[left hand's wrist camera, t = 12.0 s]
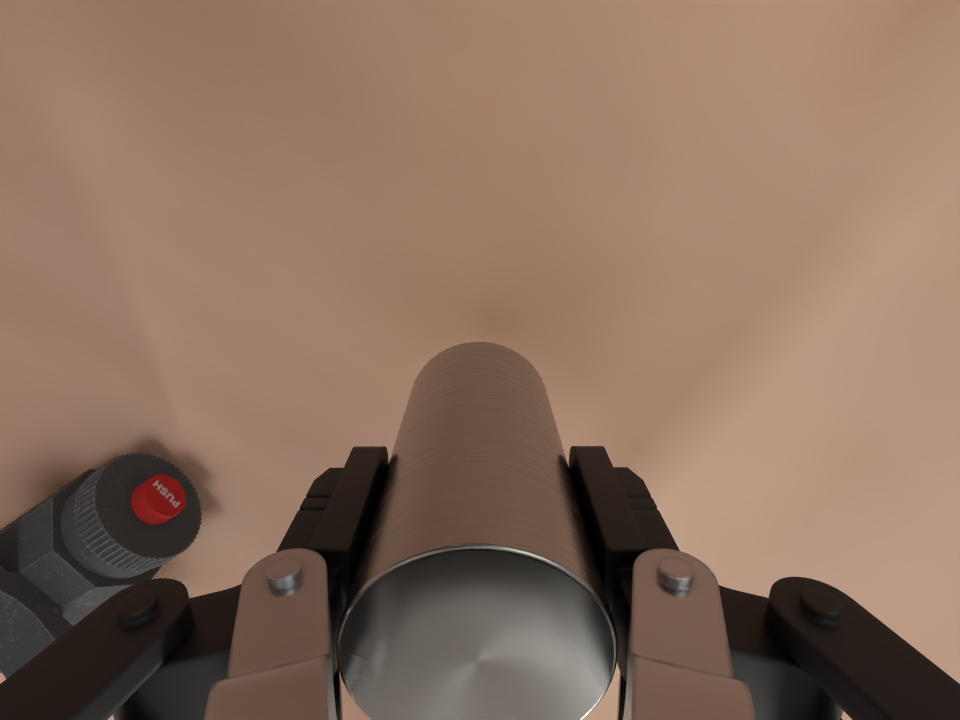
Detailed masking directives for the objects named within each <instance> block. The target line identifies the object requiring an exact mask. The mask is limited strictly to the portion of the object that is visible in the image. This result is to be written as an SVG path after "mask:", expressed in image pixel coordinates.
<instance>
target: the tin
mask: <svg viewBox="0 0 960 720" xmlns="http://www.w3.org/2000/svg"><path fill="white" fill-rule="evenodd" d="M336 654H337V662H338V667H339V671H340V674H341V677H342V680H343V682H344V684H345V686H346V689H347V691H348V692H349V694H350V695H351V697H352V698H353V700H354V701H355V703H356V704H357V705H358V706H359V707H360V708H361V709H362V711H363V712H364V713H365V714H366V715H367V716H369V717H370V718H371V719H372V720H583V719H584V718H585V717H586V716H587V715H588V714H589V713H590V712H591V711H592V710H593V709H594V708H595V707H596V706H597V705H598V703H599V702H600V700H601V699H602V697H603V696H604V695H605V693H606V691H607V689H608V687H609V685H610V683H611V681H612V678H613V675H614V672H615V668H616V663H617V655H618V638H617V633H616V628H615V624H614V620H613V617H612V614H611V610H610V607H609V603H608V600H607V597H606V593H605V590H604V586H603V583H602V580H601V576H600V573H599V569H598V566H597V563H596V559H595V556H594V552H593V549H592V546H591V542H590V539H589V535H588V532H587V529H586V525H585V522H584V518H583V515H582V511H581V508H580V505H579V501H578V498H577V494H576V491H575V488H574V484H573V481H572V477H571V474H570V471H569V467H568V464H567V460H566V457H565V454H564V450H563V447H562V443H561V440H560V437H559V433H558V430H557V426H556V423H555V420H554V416H553V413H552V409H551V406H550V403H549V399H548V396H547V392H546V389H545V386H544V383H543V381H542V379H541V377H540V375H539V374H538V372H537V371H536V369H535V368H534V367H533V365H532V364H531V363H529V362H528V361H527V360H526V359H525V358H524V357H523V356H521V355H520V354H518V353H517V352H515V351H513V350H511V349H509V348H506V347H504V346H501V345H497V344H493V343H486V342H472V343H464V344H460V345H456V346H454V347H451V348H448V349H446V350H444V351H443V352H441V353H439V354H438V355H436V356H435V357H434V358H432V359H431V360H430V361H429V362H428V363H427V364H426V365H425V366H424V367H423V369H422V370H421V371H420V373H419V375H418V376H417V378H416V380H415V382H414V385H413V387H412V391H411V394H410V397H409V400H408V404H407V407H406V410H405V413H404V417H403V420H402V423H401V426H400V429H399V433H398V436H397V439H396V442H395V446H394V449H393V452H392V455H391V459H390V462H389V465H388V468H387V472H386V475H385V478H384V481H383V484H382V488H381V491H380V494H379V497H378V501H377V504H376V507H375V510H374V514H373V517H372V520H371V523H370V527H369V530H368V533H367V536H366V539H365V543H364V546H363V549H362V552H361V556H360V559H359V562H358V565H357V569H356V572H355V575H354V578H353V582H352V585H351V588H350V591H349V594H348V598H347V601H346V604H345V607H344V611H343V614H342V617H341V620H340V624H339V628H338V633H337V641H336Z"/></svg>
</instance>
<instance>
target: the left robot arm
mask: <svg viewBox="0 0 960 720" xmlns="http://www.w3.org/2000/svg"><path fill="white" fill-rule="evenodd" d="M388 465H389V464H388V453H387V448H386V447H353V449H352V451H351V453H350V455H349V457H348V460H347V462H346V464H345V466H344V468H329V469H328V470H327V471H325V472H324V473H323V474H322V475H320V476H319V477H318V478H317V479H315V480H314V482H313V484H312V486H311V487H310V489H309V491H308V493H307V495H306V498H305V499H304V501H303V503H302V504H301V506H300V511H298V512H297V514H296V516H295V518H294V520H293V521H292V523H291V525H290V527H289V529H288V531H287V533H286V535H285V537H284V539H283V540H282V542H281V544H280V546H279V548H278V550H277V552H276V553H273V554H271V555H269V556H267V557H265V558H263V559H262V560H260V561H259V562H257V563H256V564H255V565H254V566H253V567H252V568H251V569H250V570H249V571H248V572H247V573H246V575H245V577H244V579H243V582H242V584H240V585H238V586H235V587H233V588H230V589H226V590H223V591H219V592H215V593H210V594H206V595H202V596H198V597H193V598H189V595H188V591H187V588H186V587H185V586H184V584H182V583H181V582H179V581H177V580H173V579H165V578H160V579H152V580H147V581H143V582H140V583H137V584H134V585H132V586H129V587H127V588H125V589H123V590H121V591H119V592H118V593H116V594H114V595H113V596H111V597H110V598H109V599H107V600H106V601H105V602H103V603H102V604H101V605H99V606H98V607H97V608H96V609H94V610H93V611H92V612H91V613H89V614H88V615H87V616H86V617H84V618H83V619H82V620H81V621H79V622H78V623H77V624H76V625H74V626H73V627H72V628H70V629H69V630H68V631H67V632H65V633H64V634H63V635H62V636H60V637H59V638H58V639H57V640H55V641H54V642H53V643H52V644H50V645H49V646H48V647H47V648H45V649H44V650H43V651H41V652H40V653H39V654H38V655H36V656H35V657H34V658H33V659H31V660H30V661H29V662H28V663H26V664H25V665H24V666H23V667H21V668H20V669H19V670H18V671H16V672H15V673H14V674H12V675H11V676H10V677H9V678H7V679H6V680H5V681H4V682H2V683H1V684H0V720H108V719H109V718H110V717H111V716H112V715H113V717H114V720H343V706H342V688H341V677H340V671H339V667H338V662H337V654H336V641H337V633H338V628H339V624H340V620H341V617H342V614H343V611H344V607H345V604H346V601H347V598H348V594H349V591H350V588H351V585H352V582H353V578H354V575H355V572H356V569H357V565H358V562H359V559H360V556H361V552H362V549H363V546H364V543H365V539H366V536H367V533H368V530H369V527H370V523H371V520H372V517H373V514H374V510H375V507H376V504H377V501H378V497H379V494H380V491H381V488H382V484H383V481H384V478H385V475H386V472H387V468H388ZM569 471H570V474H571V477H572V481H573V484H574V488H575V491H576V494H577V498H578V501H579V505H580V508H581V511H582V515H583V518H584V522H585V525H586V529H587V532H588V535H589V539H590V542H591V546H592V549H593V552H594V556H595V559H596V563H597V566H598V569H599V573H600V576H601V580H602V583H603V586H604V590H605V593H606V597H607V600H608V603H609V607H610V610H611V614H612V617H613V620H614V624H615V628H616V633H617V638H618V655H617V663H618V667H619V670H620V677H619V688H618V706H617V720H842V719H841V716H842V713H843V710H844V711H845V712H846V714H847V715H848V716H849V717H850V718H851V719H852V720H960V684H959V683H958V682H956V681H955V680H954V679H953V678H951V677H950V676H949V675H948V674H946V673H945V672H944V671H942V670H941V669H940V668H939V667H937V666H936V665H935V664H934V663H932V662H931V661H930V660H929V659H927V658H926V657H925V656H924V655H922V654H921V653H920V652H919V651H917V650H916V649H915V648H913V647H912V646H911V645H910V644H908V643H907V642H906V641H905V640H903V639H902V638H901V637H900V636H898V635H897V634H896V633H895V632H893V631H892V630H891V629H890V628H888V627H887V626H886V625H884V624H883V623H882V622H881V621H879V620H878V619H877V618H876V617H874V616H873V615H872V614H871V613H869V612H868V611H867V610H866V609H864V608H863V607H862V606H861V605H859V604H858V603H857V602H855V601H854V600H853V599H852V598H850V597H849V596H847V595H846V594H845V593H843V592H841V591H840V590H838V589H836V588H834V587H832V586H830V585H828V584H825V583H823V582H820V581H817V580H813V579H809V578H804V577H787V578H783V579H780V580H778V581H777V582H775V583H774V584H773V586H772V587H771V590H770V594H769V598H766V597H762V596H757V595H753V594H749V593H745V592H741V591H736V590H732V589H729V588H725V587H723V586H720V585H718V582H717V579H716V577H715V575H714V573H713V572H712V571H711V570H710V569H709V568H708V567H707V566H706V565H705V564H704V563H703V562H701V561H700V560H698V559H697V558H695V557H693V556H691V555H689V554H687V553H684V552H681V551H680V550H679V549H678V547H677V545H676V543H675V541H674V539H673V537H672V535H671V533H670V531H669V529H668V527H667V525H666V524H665V522H664V520H663V518H662V516H661V514H660V512H659V510H657V506H656V504H655V502H654V500H653V499H652V498H651V495H650V493H649V491H648V489H647V487H646V485H645V483H644V481H643V480H642V479H641V478H640V477H638V476H637V475H636V474H635V473H634V472H632V471H631V470H630V469H629V468H627V467H613V466H612V464H611V461H610V459H609V457H608V455H607V452H606V450H605V448H604V447H603V446H572V447H571V449H570V455H569Z"/></svg>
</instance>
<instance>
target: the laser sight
mask: <svg viewBox="0 0 960 720" xmlns="http://www.w3.org/2000/svg"><path fill="white" fill-rule="evenodd" d="M201 514H202V513H201V507H200V502H199V498H198V497H197V493H196V492H195V488H193V485H192V484H191V483H190V480H189V479H187V477H186V475H184V474H183V472H182V471H180V470H179V469H178V468H177V467H175V466H174V464H171V463H170V462H169V461H166V460H165V459H161V458H160V457H156V456H155V455H150V454H144V453H142V454H140V453H136V454H134V453H131V454H126V455H125V456H124V455H122V456H120V457H117V458H115V459H114V460H112V461H110V462H109V463H107V464H106V465H104V466H103V467H101V468H100V469H98V470H94V469H89V470H88V471H86V472H85V473H83V474H82V475H80V476H79V477H77V478H76V479H74V480H73V481H72V482H70V483H69V484H67V485H66V486H64V487H63V488H61V489H60V490H58V491H57V492H56V493H54V494H53V495H51V496H50V497H48V498H47V499H45V500H44V501H42V502H41V503H40V504H38V505H37V506H35V507H34V508H32V509H31V510H29V511H28V512H26V513H25V514H24V515H22V516H21V517H19V518H18V519H16V520H15V521H13V522H12V523H10V524H9V525H8V526H6V527H5V528H3V529H2V530H0V673H1V672H2V674H3V675H4V676H5V677H6V679H7V678H9V677H10V676H11V675H12V674H14V673H15V672H16V671H18V670H19V669H20V668H21V667H23V666H24V665H25V664H26V663H28V662H29V661H30V660H31V659H33V658H34V657H35V656H36V655H38V654H39V653H40V652H41V651H43V650H44V649H45V648H47V647H48V646H49V645H50V644H52V643H53V642H54V641H55V640H57V639H58V638H59V637H60V636H62V635H63V634H64V633H65V632H67V631H68V630H69V629H70V628H72V627H73V626H74V625H76V624H77V623H78V622H79V621H81V620H82V619H83V618H84V617H86V616H87V615H88V614H89V613H91V612H92V611H93V610H94V609H96V608H97V607H98V606H99V605H101V604H102V603H103V602H105V601H106V600H107V599H109V598H110V597H111V596H113V595H114V594H116V593H118V592H119V591H121V590H123V589H125V588H127V587H129V586H132V585H134V584H137V583H140V582H143V581H147V580H151V579H152V578H153V576H154V575H155V574H156V573H157V571H158V570H159V569H160V568H161V566H162V565H163V564H164V563H166V562H168V561H169V560H171V559H173V558H174V557H176V556H177V555H179V554H181V553H182V552H183V551H185V550H186V549H187V548H188V547H189V546H190V545H191V543H193V542H194V539H195V538H196V535H197V534H198V530H199V529H200V525H201V522H200V521H201V519H202V518H201Z"/></svg>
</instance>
